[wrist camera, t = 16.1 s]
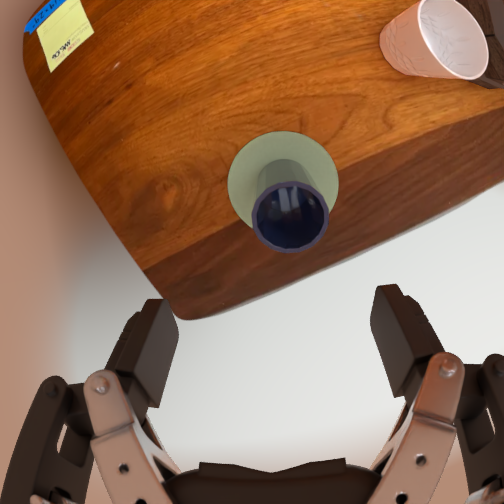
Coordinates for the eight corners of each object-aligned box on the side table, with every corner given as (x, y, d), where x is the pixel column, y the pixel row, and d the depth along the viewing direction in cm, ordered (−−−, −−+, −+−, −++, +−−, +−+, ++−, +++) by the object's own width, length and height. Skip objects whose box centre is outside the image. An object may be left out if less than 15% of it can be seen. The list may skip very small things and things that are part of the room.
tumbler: (258, 214, 31) (255, 255, 23) (253, 161, 28) (247, 184, 20) (312, 210, 30) (328, 250, 22) (310, 157, 27) (328, 179, 20)
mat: (235, 239, 33) (235, 240, 33) (220, 137, 27) (220, 137, 27) (337, 232, 32) (337, 233, 31) (336, 129, 26) (337, 129, 26)
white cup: (442, 76, 21) (498, 77, 12) (389, 86, 23) (439, 83, 14) (418, 16, 17) (467, -3, 9) (362, 21, 19) (401, -8, 11)
